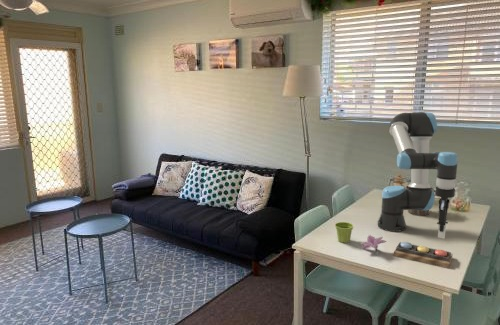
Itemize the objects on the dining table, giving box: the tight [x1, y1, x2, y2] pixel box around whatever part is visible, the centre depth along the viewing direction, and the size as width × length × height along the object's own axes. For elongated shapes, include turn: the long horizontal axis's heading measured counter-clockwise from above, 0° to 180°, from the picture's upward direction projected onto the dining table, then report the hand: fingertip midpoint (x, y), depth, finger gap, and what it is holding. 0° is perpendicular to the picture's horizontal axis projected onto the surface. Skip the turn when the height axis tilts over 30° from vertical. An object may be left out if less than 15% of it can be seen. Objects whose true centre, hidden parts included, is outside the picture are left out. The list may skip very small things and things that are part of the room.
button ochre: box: [417, 245, 430, 253], centre depth 174 cm, size 5×5×2 cm
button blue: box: [400, 241, 413, 249], centre depth 178 cm, size 5×5×2 cm
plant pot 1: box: [334, 221, 354, 244], centre depth 194 cm, size 9×9×9 cm
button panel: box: [393, 241, 454, 269], centre depth 175 cm, size 23×12×4 cm, turn 56°
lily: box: [360, 235, 388, 257], centre depth 180 cm, size 12×12×10 cm
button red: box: [435, 249, 448, 257], centre depth 170 cm, size 5×5×2 cm
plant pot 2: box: [404, 185, 435, 217], centre depth 234 cm, size 16×16×16 cm
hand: (441, 237), depth 169 cm, fingers closed
